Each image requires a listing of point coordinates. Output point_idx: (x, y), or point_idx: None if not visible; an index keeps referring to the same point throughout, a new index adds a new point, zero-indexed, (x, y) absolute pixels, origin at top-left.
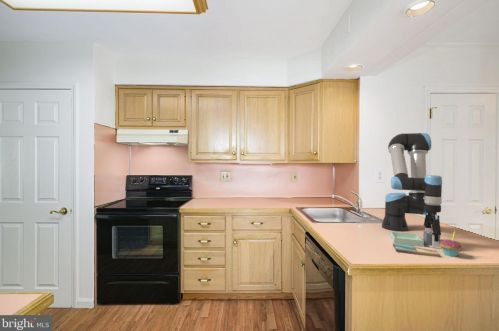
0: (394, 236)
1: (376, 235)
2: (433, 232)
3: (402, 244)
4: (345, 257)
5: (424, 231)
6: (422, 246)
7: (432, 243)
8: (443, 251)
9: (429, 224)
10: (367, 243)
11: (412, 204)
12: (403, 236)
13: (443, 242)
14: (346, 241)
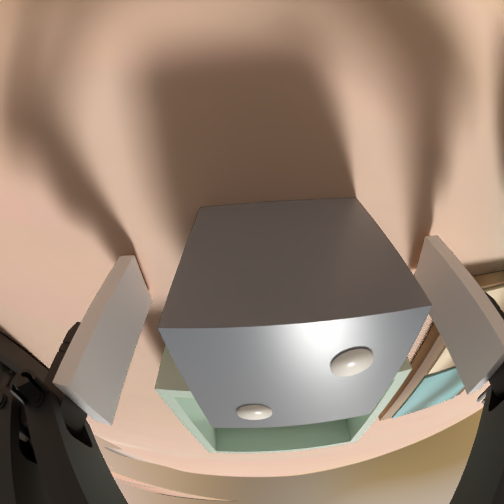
0: (328, 445)
1: None
2: (493, 409)
3: (397, 402)
4: (462, 419)
5: (226, 425)
6: (434, 343)
7: (431, 307)
8: None
9: (96, 485)
10: (366, 440)
11: None
12: None
13: None
14: (354, 455)
